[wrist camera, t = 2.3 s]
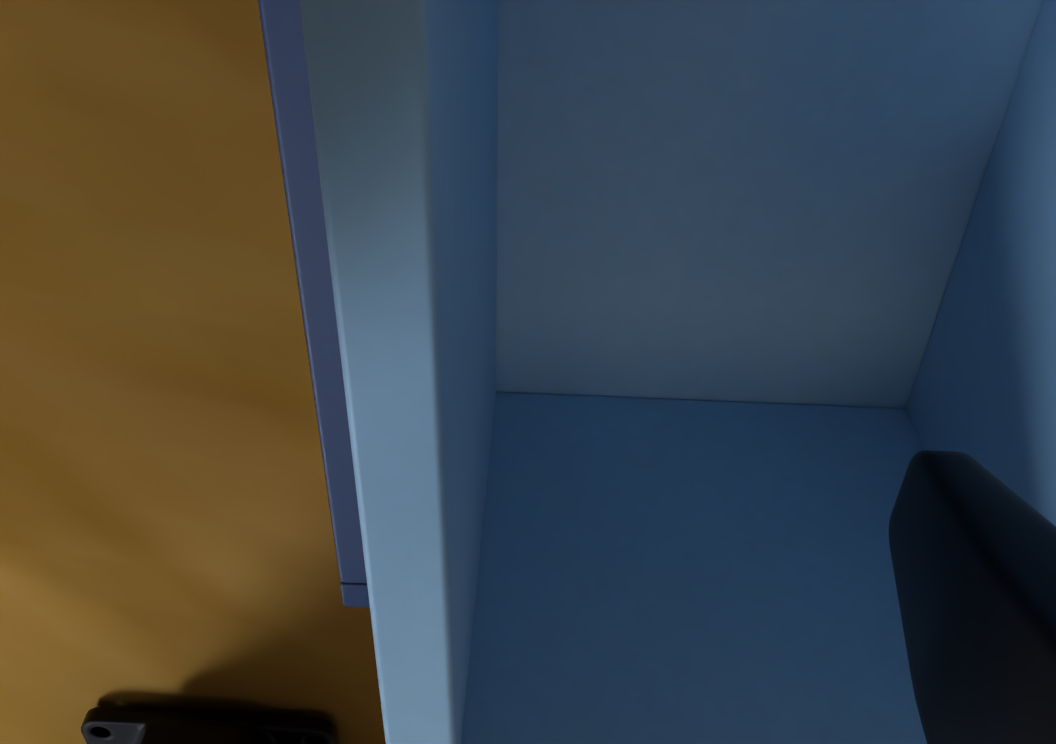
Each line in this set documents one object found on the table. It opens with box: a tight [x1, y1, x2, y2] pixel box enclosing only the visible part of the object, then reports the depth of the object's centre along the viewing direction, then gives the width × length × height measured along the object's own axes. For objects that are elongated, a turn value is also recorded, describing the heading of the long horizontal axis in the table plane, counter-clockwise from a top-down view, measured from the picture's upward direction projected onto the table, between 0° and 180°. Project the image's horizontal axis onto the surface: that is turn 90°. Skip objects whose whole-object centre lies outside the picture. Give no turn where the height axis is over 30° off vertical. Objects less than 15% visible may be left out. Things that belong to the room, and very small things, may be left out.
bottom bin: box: [258, 0, 370, 607], centre depth 14 cm, size 15×12×4 cm
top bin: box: [299, 0, 1056, 744], centre depth 12 cm, size 12×9×8 cm
